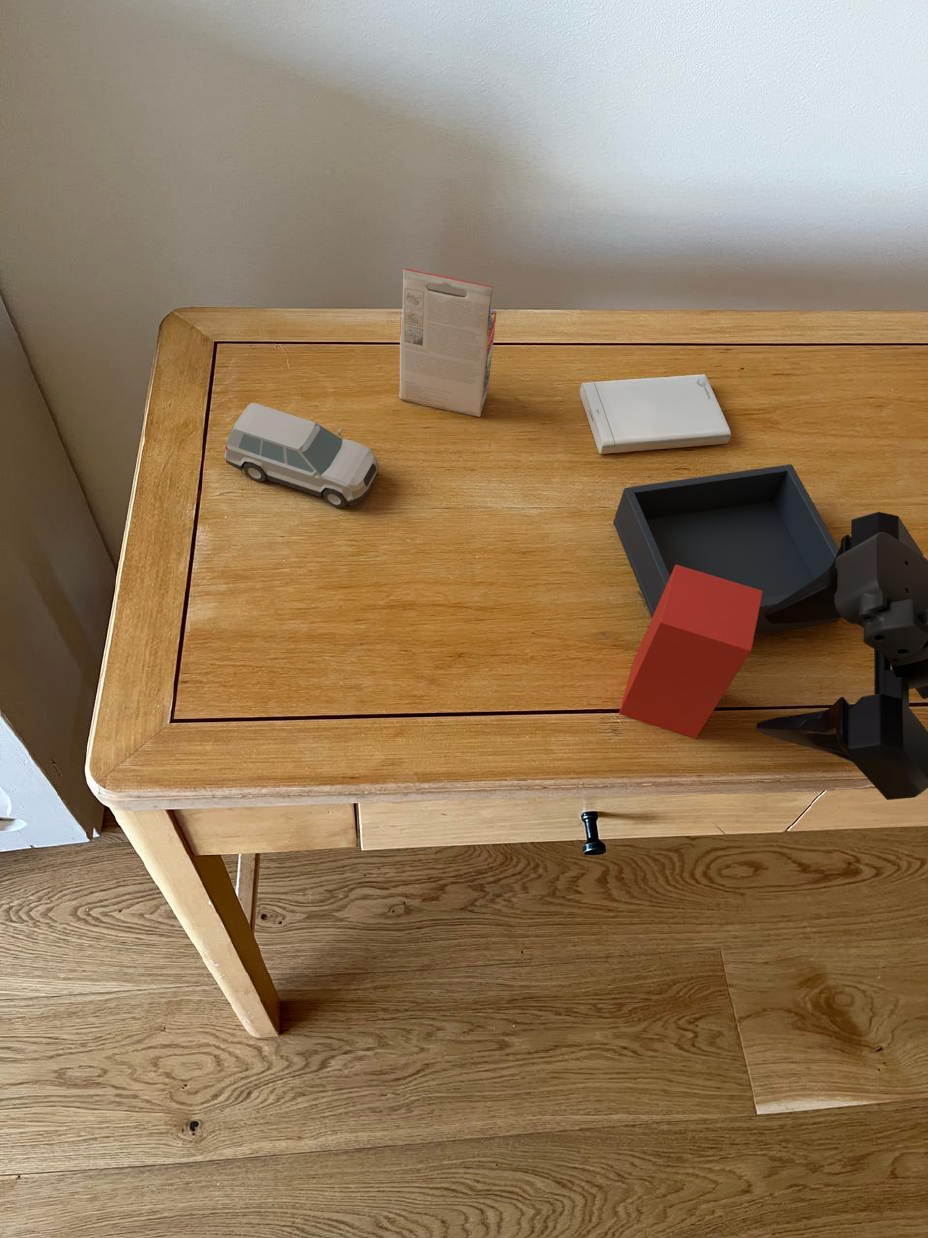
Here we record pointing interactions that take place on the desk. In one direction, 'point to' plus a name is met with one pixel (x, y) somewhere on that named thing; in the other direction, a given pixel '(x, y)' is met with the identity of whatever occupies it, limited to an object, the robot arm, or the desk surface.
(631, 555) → the dark gray tray
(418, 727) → the desk surface
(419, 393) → the ink box
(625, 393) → the hard drive
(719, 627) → the package
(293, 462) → the toy car
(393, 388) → the desk surface
